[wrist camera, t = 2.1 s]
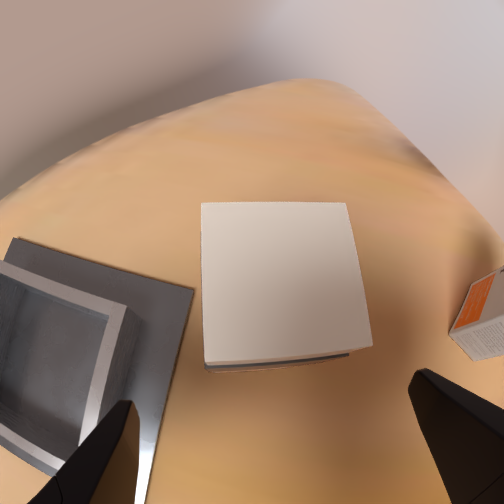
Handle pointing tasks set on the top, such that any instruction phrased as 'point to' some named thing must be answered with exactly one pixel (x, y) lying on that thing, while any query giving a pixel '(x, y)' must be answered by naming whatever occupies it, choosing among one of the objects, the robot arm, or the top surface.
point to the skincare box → (482, 318)
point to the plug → (279, 285)
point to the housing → (82, 353)
